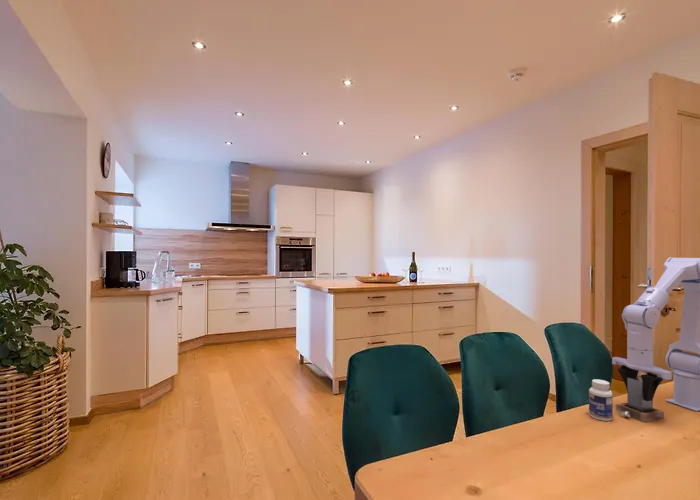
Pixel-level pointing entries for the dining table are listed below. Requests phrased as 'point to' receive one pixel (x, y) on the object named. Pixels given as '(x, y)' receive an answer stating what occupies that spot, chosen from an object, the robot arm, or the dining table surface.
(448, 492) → the dining table surface
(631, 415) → the walnut clamp block
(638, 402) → the steel post
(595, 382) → the pill bottle
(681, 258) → the robot arm
